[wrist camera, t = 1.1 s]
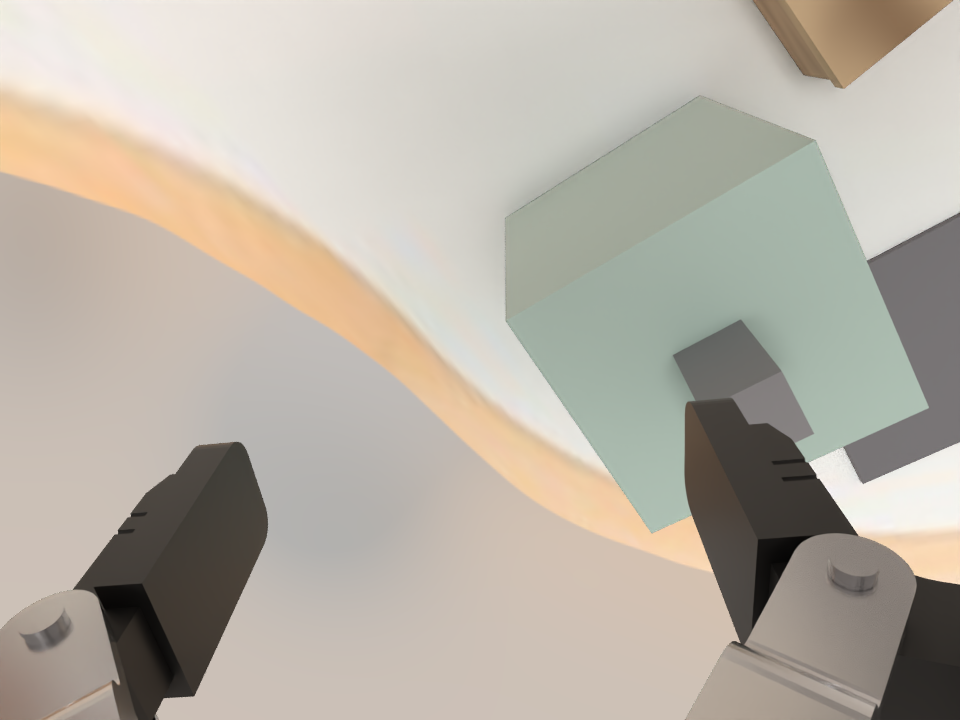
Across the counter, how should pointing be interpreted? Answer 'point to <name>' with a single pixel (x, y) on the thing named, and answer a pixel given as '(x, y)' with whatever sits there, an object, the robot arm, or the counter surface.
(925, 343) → the mat
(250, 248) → the counter surface
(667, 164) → the cover
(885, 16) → the cardboard box
